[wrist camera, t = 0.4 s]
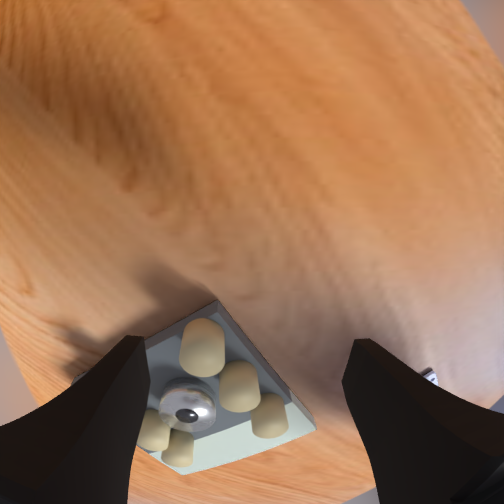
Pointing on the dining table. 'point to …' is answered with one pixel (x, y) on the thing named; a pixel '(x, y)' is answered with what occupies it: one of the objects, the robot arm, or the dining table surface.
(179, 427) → the steel nut
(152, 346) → the board
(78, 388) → the robot arm
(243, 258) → the dining table surface
